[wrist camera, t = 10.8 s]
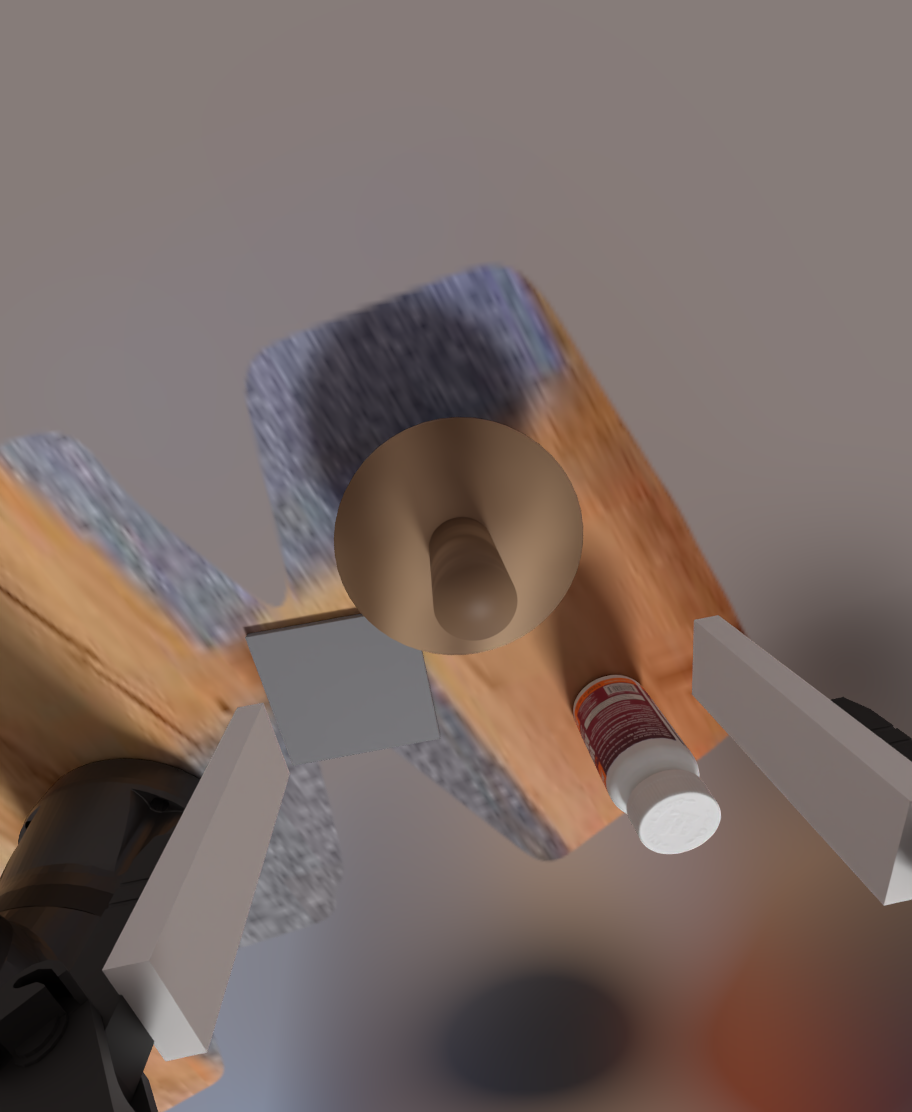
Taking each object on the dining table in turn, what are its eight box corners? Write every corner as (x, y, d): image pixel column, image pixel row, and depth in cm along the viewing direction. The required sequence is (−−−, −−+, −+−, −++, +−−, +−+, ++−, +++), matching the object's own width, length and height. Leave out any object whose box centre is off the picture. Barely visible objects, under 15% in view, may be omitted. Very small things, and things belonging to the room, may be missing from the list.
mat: (294, 760, 38) (292, 765, 38) (247, 633, 34) (245, 637, 34) (440, 734, 39) (440, 738, 38) (412, 604, 34) (412, 607, 34)
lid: (367, 663, 30) (351, 759, 23) (307, 441, 25) (261, 469, 17) (584, 625, 30) (639, 706, 23) (569, 396, 25) (633, 405, 18)
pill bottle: (556, 711, 39) (608, 837, 28) (607, 658, 37) (682, 769, 27) (608, 744, 41) (676, 874, 30) (660, 695, 39) (750, 813, 29)
